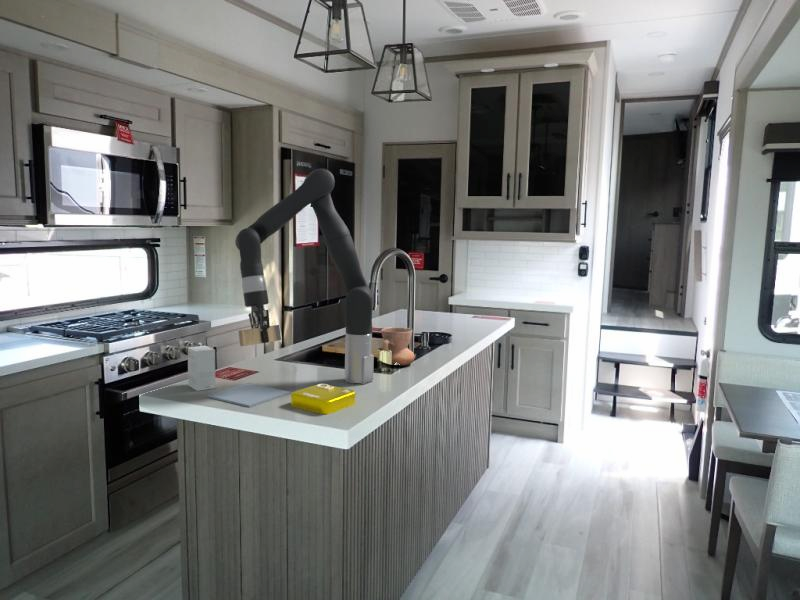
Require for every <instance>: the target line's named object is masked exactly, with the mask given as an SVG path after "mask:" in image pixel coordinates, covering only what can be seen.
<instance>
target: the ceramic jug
mask: <svg viewBox="0 0 800 600" xmlns="http://www.w3.org/2000/svg"><path fill="white" fill-rule="evenodd" d="M412 335H413V329H412V328H410V327H404V326H391V327H384V328H382V329H381V336H382V339H383V342H382V344H381V345H382V346H381V347H382V351H383V350H385V351H386V350H387V351H388V350H391V351H392V364H393V365H394V364H395V363H396V362H397V363H399V364H400V366H399V367H404V366H408V365H411V364H412V363H413V362H414V360H415V357H416V356H415V353H414V352H413V351H412V349H409V348H408V346H409V344H410V342H411V339H412ZM378 357H379V355H378Z"/></svg>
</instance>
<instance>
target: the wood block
mask: <svg viewBox="0 0 800 600" xmlns="http://www.w3.org/2000/svg"><path fill="white" fill-rule="evenodd" d="M267 331H268V337H269V342H268V343H270V342H271V343H272V342H277V341H282V336H281V335H282V334H281V328H280V324H276V325H275V324H274V325H270V328H268V330H267ZM237 332H238V333H237V334H238V339H239V345H240V347H247V346H255V345H260V344H263V343H262V341H261V334H260V329H259V328H253V329H252V328H247V329H242V330H238V331H237ZM261 332H262V331H261Z"/></svg>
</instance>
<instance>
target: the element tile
mask: <svg viewBox="0 0 800 600" xmlns="http://www.w3.org/2000/svg"><path fill="white" fill-rule="evenodd" d="M290 401H291V402H290V405H291V407H293V408H296V409H300V410H304V411H308V412H312V413H316V414H320V415H330V414H333V413H336V412H339V411H341V410H344V409H347V408H349V407H352V406H354V405H356V391H355V390H353V389H349V388H344V387H339V386H334V385H331V384H328V383H318V384H315V385H310V386H308V387H304V388H302V389H297V390H295V391H293V392H290Z"/></svg>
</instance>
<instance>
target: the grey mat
mask: <svg viewBox="0 0 800 600" xmlns="http://www.w3.org/2000/svg"><path fill="white" fill-rule="evenodd" d="M289 394H290V395H291V392H290V391H288V390H283V389H279V388H275V387H270V386H264V385H260V384H255V383H251V382H247V383H244V384H240V385H237V386H233V387H230V388H225V389H223V390H219V391H217V392H213V393H210V394H207V395H206V398H209V399H212V400H213V399H214V400H217V401H222V402H226V403H231V404H235V405H238V406H243V407H248V408H251V407H255V406H257V405H260V404H263V403H266V402H269V401H271V400H275V399H277V398H281V397H284V396H286V395H289Z"/></svg>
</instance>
